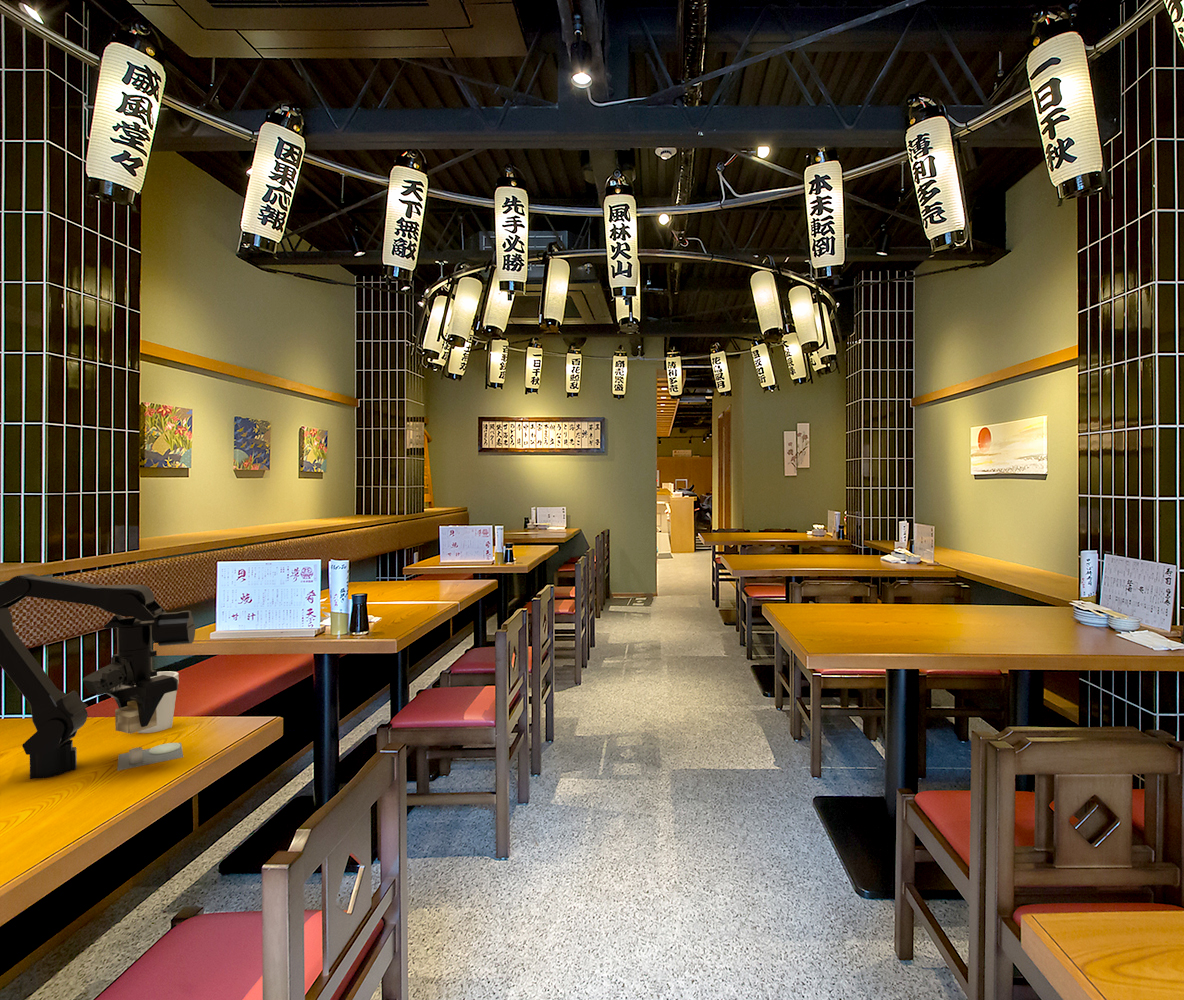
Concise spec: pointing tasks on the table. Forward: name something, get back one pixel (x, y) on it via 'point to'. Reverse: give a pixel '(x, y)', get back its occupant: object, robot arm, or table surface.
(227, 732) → the table surface
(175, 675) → the foam cup
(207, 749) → the table surface
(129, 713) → the hinoki cap
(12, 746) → the table surface
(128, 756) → the lock board
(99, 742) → the table surface
